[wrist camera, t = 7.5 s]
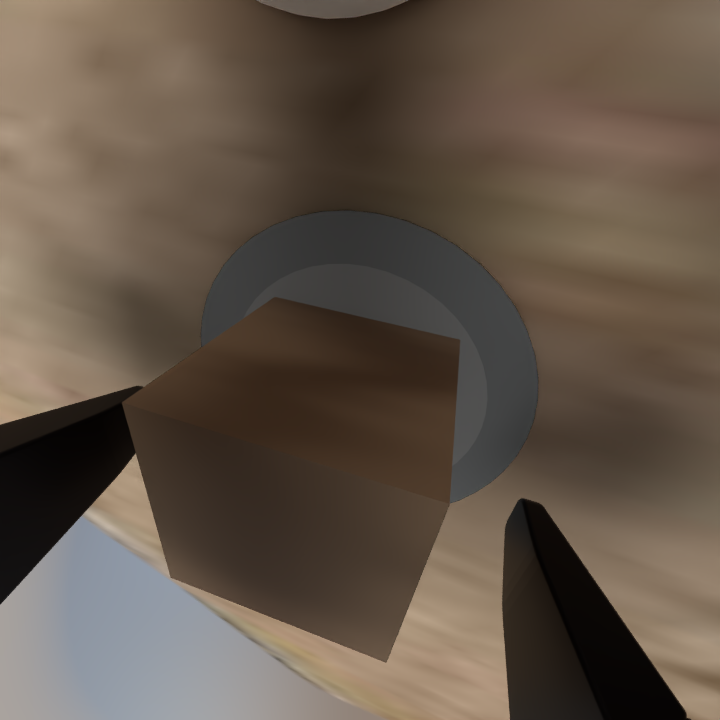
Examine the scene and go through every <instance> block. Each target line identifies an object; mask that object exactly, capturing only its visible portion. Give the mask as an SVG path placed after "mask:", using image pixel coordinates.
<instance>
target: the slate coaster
mask: <svg viewBox="0 0 720 720" xmlns="http://www.w3.org/2000/svg"><path fill="white" fill-rule="evenodd" d="M274 297H278V298H283V299H287V300H291V301H295V302H300V303H304V304H308V305H313V306H317V307H321V308H326V309H330V310H334V311H339V312H343V313H347V314H352V315H356V316H360V317H364V318H369V319H373V320H377V321H382V322H386V323H390V324H395V325H399V326H403V327H408V328H412V329H416V330H421V331H425V332H429V333H434V334H438V335H442V336H446V337H451V338H455V339H459V340H460V354H459V369H458V385H457V400H456V415H455V431H454V446H453V461H452V476H451V492H450V503H453V502H456V501H459V500H461V499H463V498H465V497H467V496H469V495H471V494H473V493H475V492H477V491H478V490H480V489H482V488H483V487H485V486H486V485H488V484H489V483H491V482H492V481H493V480H494V479H495V478H496V477H498V476H499V475H500V474H501V473H502V472H503V471H504V470H505V469H506V468H507V467H508V466H509V464H510V463H511V462H512V461H513V460H514V458H515V457H516V456H517V454H518V453H519V451H520V449H521V448H522V446H523V444H524V443H525V441H526V439H527V436H528V434H529V431H530V429H531V426H532V424H533V421H534V416H535V411H536V406H537V401H538V373H537V366H536V359H535V354H534V351H533V347H532V344H531V341H530V338H529V335H528V332H527V329H526V327H525V325H524V323H523V321H522V319H521V317H520V315H519V313H518V311H517V309H516V307H515V306H514V304H513V303H512V301H511V300H510V298H509V297H508V296H507V294H506V293H505V291H504V290H503V289H502V287H501V286H500V284H499V283H498V282H497V281H496V280H495V279H494V278H493V277H492V276H491V275H490V274H489V273H488V272H487V271H486V270H485V269H484V268H483V267H482V266H481V265H480V264H479V263H478V262H477V261H476V260H474V259H473V258H472V257H470V256H469V255H468V254H467V253H465V252H464V251H463V250H462V249H460V248H459V247H458V246H456V245H455V244H453V243H451V242H449V241H448V240H446V239H444V238H442V237H441V236H439V235H437V234H435V233H434V232H432V231H430V230H427V229H425V228H422V227H420V226H418V225H415V224H413V223H410V222H408V221H405V220H402V219H398V218H394V217H390V216H386V215H382V214H378V213H370V212H360V211H350V210H344V211H323V212H317V213H312V214H307V215H302V216H297V217H294V218H292V219H289V220H286V221H283V222H281V223H278V224H275V225H273V226H271V227H269V228H268V229H266V230H264V231H262V232H261V233H259V234H257V235H255V236H254V237H252V238H251V239H250V240H249V241H247V242H246V243H245V244H244V245H243V246H241V247H240V248H239V249H238V250H237V251H236V252H235V253H234V254H233V255H232V256H231V258H230V259H229V260H228V261H227V262H226V263H225V264H224V266H223V267H222V269H221V271H220V272H219V274H218V275H217V277H216V279H215V280H214V282H213V284H212V287H211V289H210V292H209V294H208V297H207V299H206V303H205V308H204V312H203V317H202V327H201V347H203V346H204V345H206V344H207V343H209V342H210V341H212V340H213V339H214V338H216V337H217V336H219V335H220V334H222V333H223V332H225V331H226V330H227V329H229V328H230V327H232V326H233V325H235V324H236V323H238V322H239V321H240V320H242V319H243V318H245V317H246V316H248V315H249V314H251V313H252V312H253V311H255V310H256V309H258V308H259V307H261V306H262V305H264V304H265V303H267V302H268V301H269V300H271V299H272V298H274Z"/></svg>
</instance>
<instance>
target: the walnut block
mask: <svg viewBox="0 0 720 720" xmlns="http://www.w3.org/2000/svg"><path fill="white" fill-rule="evenodd" d="M459 354H460V340H459V339H455V338H451V337H446V336H442V335H438V334H434V333H429V332H425V331H421V330H416V329H412V328H408V327H403V326H399V325H395V324H390V323H386V322H382V321H377V320H373V319H369V318H364V317H360V316H356V315H352V314H347V313H343V312H339V311H334V310H330V309H326V308H321V307H317V306H313V305H308V304H304V303H300V302H295V301H291V300H287V299H283V298H278V297H274V298H272V299H271V300H269V301H268V302H267V303H265V304H264V305H262V306H261V307H259V308H258V309H256V310H255V311H253V312H252V313H251V314H249V315H248V316H246V317H245V318H243V319H242V320H240V321H239V322H238V323H236V324H235V325H233V326H232V327H230V328H229V329H227V330H226V331H225V332H223V333H222V334H220V335H219V336H217V337H216V338H214V339H213V340H212V341H210V342H209V343H207V344H206V345H204V346H203V347H201V348H200V349H199V350H197V351H196V352H194V353H193V354H191V355H190V356H188V357H187V358H186V359H184V360H183V361H181V362H180V363H178V364H177V365H175V366H174V367H173V368H171V369H170V370H168V371H167V372H165V373H164V374H162V375H161V376H159V377H158V378H157V379H155V380H154V381H152V382H151V383H149V384H148V385H146V386H145V387H144V388H142V389H141V390H139V391H138V392H136V393H135V394H133V395H132V396H131V397H129V398H128V399H126V400H125V401H123V402H122V405H123V409H124V412H125V416H126V419H127V423H128V426H129V430H130V434H131V437H132V441H133V444H134V448H135V451H136V455H137V459H138V462H139V466H140V469H141V473H142V476H143V480H144V484H145V487H146V491H147V494H148V498H149V501H150V505H151V509H152V512H153V516H154V519H155V523H156V526H157V530H158V534H159V537H160V541H161V544H162V548H163V551H164V555H165V559H166V562H167V566H168V569H169V573H170V576H171V578H173V579H176V580H178V581H181V582H183V583H186V584H188V585H191V586H193V587H196V588H199V589H201V590H204V591H206V592H209V593H211V594H214V595H216V596H219V597H221V598H224V599H226V600H229V601H231V602H234V603H236V604H239V605H242V606H244V607H247V608H249V609H252V610H254V611H257V612H259V613H262V614H264V615H267V616H269V617H272V618H274V619H277V620H279V621H282V622H285V623H287V624H290V625H292V626H295V627H297V628H300V629H302V630H305V631H307V632H310V633H312V634H315V635H317V636H320V637H322V638H325V639H328V640H330V641H333V642H335V643H338V644H340V645H343V646H345V647H348V648H350V649H353V650H355V651H358V652H360V653H363V654H365V655H368V656H371V657H373V658H376V659H378V660H381V661H383V662H387V660H388V657H389V655H390V652H391V650H392V647H393V645H394V642H395V640H396V637H397V635H398V632H399V630H400V627H401V625H402V622H403V620H404V617H405V615H406V612H407V610H408V607H409V605H410V602H411V600H412V597H413V595H414V592H415V590H416V587H417V585H418V582H419V580H420V577H421V575H422V572H423V570H424V567H425V565H426V562H427V560H428V557H429V555H430V552H431V550H432V547H433V545H434V542H435V540H436V537H437V535H438V532H439V530H440V527H441V525H442V522H443V520H444V517H445V515H446V512H447V510H448V507H449V505H450V492H451V476H452V461H453V446H454V431H455V415H456V400H457V385H458V369H459Z"/></svg>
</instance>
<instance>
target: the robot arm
mask: <svg viewBox="0 0 720 720" xmlns="http://www.w3.org/2000/svg"><path fill="white" fill-rule="evenodd" d="M142 388H144V387H142V386H135V387H131V388H128V389H124V390H121V391H117V392H114V393H110V394H107V395H103V396H100V397H96V398H93V399H89V400H86V401H82V402H79V403H75V404H72V405H68V406H65V407H61V408H58V409H54V410H50V411H47V412H43V413H40V414H36V415H33V416H29V417H26V418H22V419H19V420H15V421H12V422H8V423H5V424H1V425H0V604H1V603H2V602H3V601H4V600H5V599H6V598H7V597H8V596H9V595H10V593H11V592H12V591H13V590H14V589H15V588H16V587H17V586H18V585H19V584H20V583H21V581H22V580H23V579H24V578H25V577H26V576H27V575H28V574H29V573H30V572H31V571H32V569H33V568H34V567H35V566H36V565H37V564H38V563H39V561H41V559H42V558H43V557H44V556H45V555H46V554H47V553H48V552H49V551H50V550H51V549H52V547H53V546H54V545H55V544H56V543H57V542H58V541H59V540H60V539H61V538H62V536H63V535H64V534H65V533H66V532H67V531H68V530H69V529H70V528H71V527H72V526H73V525H74V523H75V522H76V521H77V520H78V519H79V518H80V517H81V516H82V515H83V514H84V512H85V511H86V510H87V509H88V508H89V507H90V506H91V505H92V504H93V503H94V502H95V500H96V499H97V498H98V497H99V496H100V495H101V494H102V493H103V492H104V491H105V489H106V488H107V487H108V486H109V485H110V484H111V483H112V482H113V481H114V480H115V478H116V477H117V476H118V475H119V474H120V473H121V471H122V470H123V469H124V468H125V466H126V465H127V464H128V462H129V461H130V460H131V459H132V457H133V456H134V455H135V453H136V451H135V448H134V444H133V441H132V437H131V434H130V430H129V426H128V423H127V419H126V416H125V412H124V409H123V405H122V402H123V401H125V400H126V399H128V398H129V397H131V396H132V395H133V394H135V393H136V392H138V391H139V390H141V389H142ZM502 611H503V628H504V641H505V655H506V669H507V683H508V697H509V711H510V720H691V719H689V718H686V717H687V714H686V711H685V710H684V708H683V707H682V706H681V704H680V703H679V701H678V700H677V698H676V697H675V695H674V694H673V693H672V691H671V690H670V688H669V687H668V685H667V684H666V682H665V681H664V680H663V678H662V677H661V675H660V674H659V672H658V671H657V669H656V668H655V667H654V665H653V664H652V662H651V661H650V659H649V658H648V656H647V655H646V654H645V652H644V651H643V649H642V648H641V646H640V645H639V644H638V642H637V641H636V639H635V638H634V636H633V635H632V633H631V632H630V631H629V629H628V628H627V626H626V625H625V623H624V622H623V620H622V619H621V618H620V616H619V615H618V613H617V612H616V610H615V609H614V607H613V606H612V605H611V603H610V602H609V600H608V599H607V597H606V596H605V594H604V593H603V592H602V590H601V589H600V587H599V586H598V584H597V583H596V582H595V580H594V579H593V577H592V576H591V574H590V573H589V571H588V570H587V569H586V567H585V566H584V564H583V563H582V561H581V560H580V558H579V557H578V556H577V554H576V553H575V551H574V550H573V548H572V547H571V545H570V544H569V543H568V541H567V540H566V538H565V537H564V535H563V534H562V532H561V531H560V530H559V528H558V527H557V525H556V524H555V522H554V521H553V520H552V518H551V517H550V515H549V514H548V512H547V511H546V509H545V508H544V507H543V506H542V505H541V504H540V503H537V502H534V501H531V500H527V499H520V500H519V501H518V502H517V504H516V506H515V507H514V509H513V511H512V513H511V515H510V517H509V519H508V520H507V523H506V527H505V539H504V566H503V592H502Z"/></svg>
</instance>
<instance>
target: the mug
mask: <svg viewBox="0 0 720 720" xmlns="http://www.w3.org/2000/svg"><path fill="white" fill-rule="evenodd" d="M256 1H258V2H260V3H262V4H265V5H268V6H271V7H274V8H277V9H280V10H284V11H287V12H290V13H293V14H297V15H302V16H309V17H316V18H324V19H334V18H353V17H359V16H363V15H367V14H372V13H376V12H380V11H384V10H387V9H389V8H392V7H394V6H397V5H399V4H401V3H404V2H406V1H409V0H256Z"/></svg>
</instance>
